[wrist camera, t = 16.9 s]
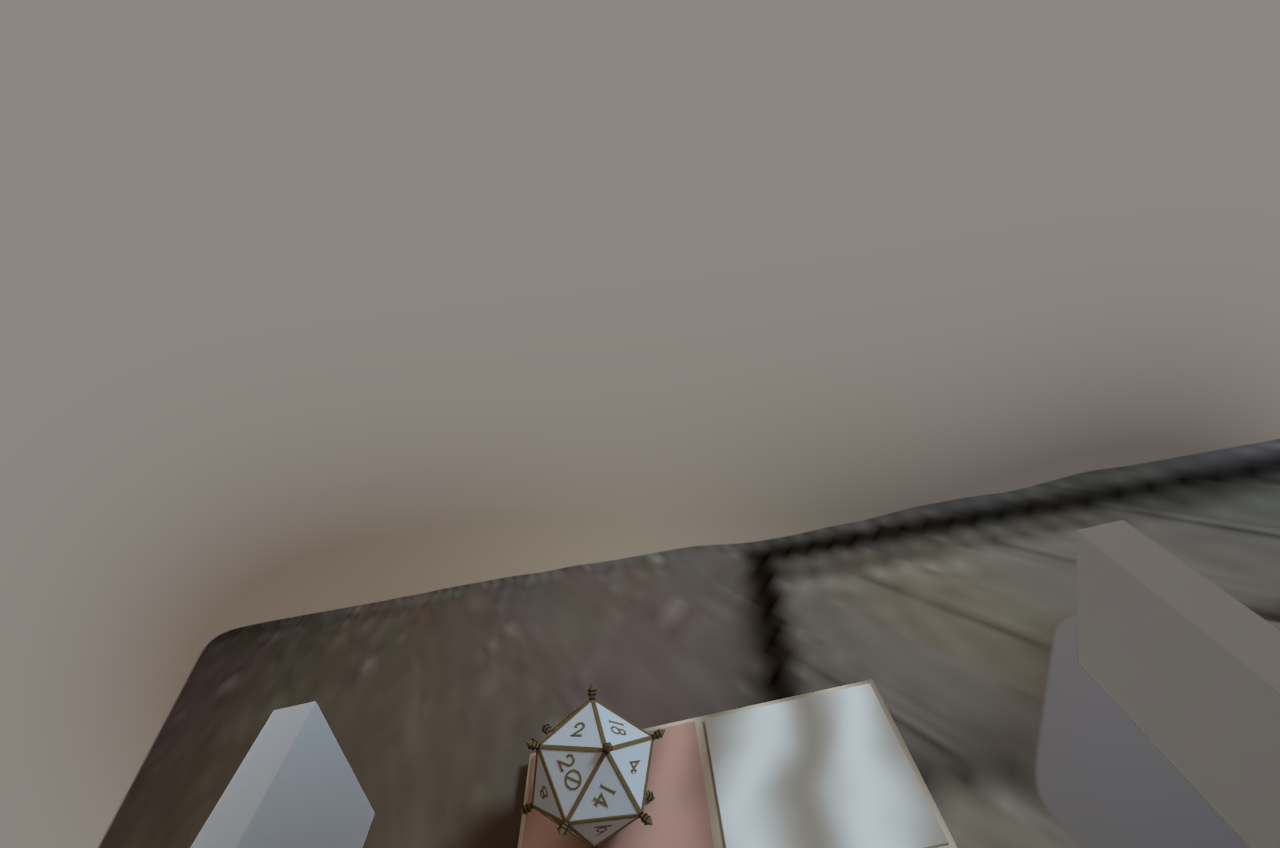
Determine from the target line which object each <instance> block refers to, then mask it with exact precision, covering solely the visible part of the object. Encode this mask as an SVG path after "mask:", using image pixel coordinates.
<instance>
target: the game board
mask: <svg viewBox="0 0 1280 848" xmlns="http://www.w3.org/2000/svg"><path fill="white" fill-rule="evenodd" d="M658 729H662V730H665V732H664V734H663V736H662V737H663V738H662V737H661V738H659V740H658V739H655V740H654V742H653V749H652V756H651V763H650V770H649V777H648V784H647V791H648V790H649V791H650V792H651V791H652V792H653V796H654V797H655V799H653V800H651V801H649V800H647V799H645V805H644V813H647V814H648V815H649V816H650V817H651V820H652V823H653V825H644V823H643V822H641V819H640V818H638V819H637V820H635V821H634V822H632V823H631V824H629V825H628V826H626V827H625V828H623V829H622V830H621V831H619V832H618V833H616V834H615V835H613V836H612V837H610V838H609V839H607V840H606V841H604V842H603V843H601V844H600V845H598V846H597V848H957V846H956V844H955V842H954V840H953V838H952V836H951V834H950V832H949V830H948V828H947V826H946V824H945V822H944V820H943V818H942V816H941V814H940V812H939V810H938V808H937V806H936V804H935V802H934V800H933V798H932V796H931V794H930V792H929V790H928V788H927V786H926V784H925V782H924V780H923V778H922V776H921V774H920V772H919V771H918V769H917V767H916V765H915V763H914V761H913V759H912V757H911V755H910V753H909V751H908V749H907V747H906V745H905V743H904V741H903V739H902V737H901V735H900V733H899V731H898V729H897V727H896V725H895V723H894V721H893V719H892V717H891V715H890V713H889V711H888V709H887V707H886V705H885V703H884V701H883V699H882V697H881V695H880V693H879V691H878V689H877V687H876V685H875V683H874V681H873V679H871V680H867V681H862V682H858V683H853V684H848V685H844V686H839V687H835V688H830V689H825V690H821V691H816V692H812V693H807V694H802V695H798V696H793V697H789V698H784V699H779V700H775V701H770V702H766V703H761V704H756V705H752V706H747V707H743V708H738V709H733V710H729V711H724V712H720V713H715V714H710V715H706V716H701V717H697V718H692V719H687V720H683V721H678V722H674V723H669V724H664V725H660V726H655V727H651V728H646V729H643V730H645V731H646V732H648V733H649V734H653V733H654V731H657V730H658ZM535 760H536V753H531V754H530V758H529V766H528V773H527V781H526V788H525V796H524V803H523V805H526V803H527V804H530V803H531V802H532V793H533V782H534V771H535ZM558 827H559V825H557V824H556V823H554V822H553V821H551V820H550V819H549V818H547V817H546V816H544V815H543V814H541V813H540V812H538V811H537V810H535V809H532V810H531V812H530V813H529V812H528V813H527V815H526V814H522V818H521V826H520V833H519V841H518V848H591V847H590V846H588V845H587V844H586V843H584V842H583V841H581V840H580V839H578V838H577V837H575V836H574V835H572V834H571V833H569V832H568V831H567V832H566V835H562V836H559V832H558V830H557V828H558Z"/></svg>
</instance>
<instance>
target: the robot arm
mask: <svg viewBox="0 0 1280 848" xmlns="http://www.w3.org/2000/svg"><path fill="white" fill-rule="evenodd" d="M1076 554H1077V662H1078V663H1079V664H1080V665H1081V666H1082V667H1083V668H1084V669H1085V670H1086V672H1087V673H1088V674H1089V675H1090V676H1091V677H1092V678H1093V679H1094V680H1095V681H1096V682H1097V683H1098V685H1100V687H1101V688H1102V689H1103V690H1104V691H1105V692H1106V693H1107V694H1108V695H1109V696H1110V698H1111V699H1112V700H1113V701H1114V702H1115V703H1116V704H1117V705H1118V706H1119V707H1120V708H1121V709H1122V710H1123V712H1124V713H1125V714H1126V715H1127V716H1128V717H1129V718H1130V719H1131V720H1132V721H1133V722H1134V723H1135V724H1136V725H1137V727H1138V728H1139V729H1140V730H1141V731H1142V732H1143V733H1144V734H1145V735H1146V736H1147V737H1148V738H1149V740H1150V741H1151V742H1152V743H1153V744H1154V745H1155V746H1156V747H1157V748H1158V749H1159V750H1160V751H1161V752H1162V754H1163V755H1164V756H1165V757H1166V758H1167V759H1168V760H1169V761H1170V762H1171V763H1172V764H1173V765H1174V766H1175V767H1176V769H1177V770H1178V771H1179V772H1180V773H1181V774H1182V775H1183V776H1184V777H1185V778H1186V779H1187V780H1188V782H1190V784H1191V785H1192V786H1193V787H1194V788H1195V789H1196V790H1197V791H1198V792H1199V793H1200V794H1201V796H1202V797H1203V798H1204V799H1205V800H1206V801H1207V802H1208V803H1209V804H1210V805H1211V806H1212V807H1213V809H1214V810H1215V811H1216V812H1217V813H1218V814H1219V815H1220V816H1221V817H1222V818H1223V819H1224V820H1225V821H1226V823H1227V824H1228V825H1229V826H1230V827H1231V828H1232V829H1233V830H1234V831H1235V832H1236V833H1237V834H1238V835H1239V836H1240V838H1242V840H1243V841H1244V842H1245V843H1246V844H1247V845H1248V846H1249V847H1250V848H1280V630H1279V629H1277V628H1276V627H1274V626H1273V625H1272V624H1270V623H1269V622H1267V621H1266V620H1265V619H1263V618H1262V617H1260V616H1259V615H1257V614H1256V613H1255V612H1253V611H1252V610H1250V609H1249V608H1248V607H1246V606H1245V605H1243V604H1242V603H1240V602H1239V601H1238V600H1236V599H1235V598H1233V597H1232V596H1231V595H1229V594H1228V593H1226V592H1225V591H1223V590H1222V589H1221V588H1219V587H1218V586H1216V585H1215V584H1213V583H1212V582H1211V581H1209V580H1208V579H1206V578H1205V577H1204V576H1202V575H1201V574H1199V573H1198V572H1196V571H1195V570H1194V569H1192V568H1191V567H1189V566H1188V565H1187V564H1185V563H1184V562H1182V561H1181V560H1179V559H1178V558H1177V557H1175V556H1174V555H1172V554H1171V553H1170V552H1168V551H1167V550H1165V549H1164V548H1162V547H1161V546H1160V545H1158V544H1157V543H1155V542H1154V541H1153V540H1151V539H1150V538H1148V537H1147V536H1145V535H1144V534H1143V533H1141V532H1140V531H1138V530H1137V529H1136V528H1134V527H1133V526H1131V525H1130V524H1128V523H1127V522H1126V521H1124V520H1120V521H1116V522H1112V523H1107V524H1103V525H1098V526H1094V527H1089V528H1085V529H1080V530H1076ZM374 814H375V813H374V811H373V809H372V807H371V805H370V803H369V801H368V799H367V797H366V796H365V794H364V792H363V790H362V788H361V786H360V784H359V782H358V780H357V778H356V777H355V775H354V773H353V771H352V769H351V767H350V765H349V763H348V761H347V760H346V758H345V756H344V754H343V752H342V750H341V748H340V746H339V744H338V743H337V741H336V739H335V737H334V735H333V733H332V731H331V729H330V727H329V726H328V724H327V722H326V720H325V718H324V716H323V714H322V712H321V710H320V709H319V707H318V705H317V703H316V701H314V702H310V703H305V704H301V705H296V706H292V707H287V708H283V709H278V710H274V711H273V712H272V714H271V716H270V717H269V719H268V721H267V722H266V724H265V726H264V727H263V729H262V731H261V732H260V734H259V735H258V737H257V739H256V740H255V742H254V744H253V745H252V747H251V749H250V750H249V752H248V754H247V755H246V757H245V758H244V760H243V762H242V763H241V765H240V767H239V768H238V770H237V772H236V773H235V775H234V777H233V778H232V780H231V782H230V783H229V785H228V786H227V788H226V790H225V791H224V793H223V795H222V796H221V798H220V800H219V801H218V803H217V805H216V806H215V808H214V809H213V811H212V813H211V814H210V816H209V818H208V819H207V821H206V823H205V824H204V826H203V828H202V829H201V831H200V833H199V834H198V836H197V837H196V839H195V841H194V842H193V844H192V846H191V847H190V848H362V847H363V845H364V842H365V839H366V836H367V834H368V831H369V828H370V825H371V822H372V820H373V817H374Z"/></svg>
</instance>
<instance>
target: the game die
mask: <svg viewBox="0 0 1280 848" xmlns="http://www.w3.org/2000/svg"><path fill="white" fill-rule="evenodd" d="M596 690H597V689H595V687H594V686H593V684H592V685H591V686H590V688H589V690H588V693H589V694H588V695H589V700H588V701H587V702H586V703H584V704H583V705H582V706H581V707H579V708H578V709H577V710H576V711H574V712H573V713H572V714H571V715H570V716H568V717H567V718H566V719H565V720H563V721H562V722H561V723H560V724H558V725H557V726H556V727H555V728H553V729H551V727H550V726H549V724H547V725H542V731H543V732H544V733H545V734H547V735H546V736H545V737H544V739H543V740H542V741H541V742H540V743H539V744H538V743H537V741H535V740H533V739H531V740H528V741H525V742H526V743H527V745H528V749H532V750H534V749H536V760H535V771H534V782H533V793H532V802H531V803H530V804H527V803H526V805H523V807H522V809H521V811H520V814H526V815H527V813H528V812H529V813H530V812H531V810H532V809H535V810H537V811H538V812H540V813H541V814H543V815H544V816H546V817H547V818H549V819H550V820H551V821H553V822H554V823H556V824H557V825H559V827H558V828H557V830H558V832H559V836H562V835H566V832H567V831H568V832H569V833H571V834H572V835H574V836H575V837H577V838H578V839H580V840H581V841H583V842H584V843H586V844H587V845H588V846H590V847H591V848H597V846H598V845H600V844H601V843H603V842H604V841H606V840H607V839H609V838H610V837H612V836H613V835H615V834H616V833H618V832H619V831H621V830H622V829H623V828H625V827H626V826H628V825H629V824H631V823H632V822H634V821H635V820H637V819H638V818H640V819H641V822H643V823H644V825H653V823H652V820H651V817H650V816H649V815H648V814H647V813H644V805H645V799H647V800H649V801H651V800H653V799H655V797H654V796H653V792H652V791H651V792H650V791H649V790H648V791H647V784H648V777H649V770H650V763H651V756H652V749H653V742H654V740H655V739H658V740H659V738H661V737H662V736H663V734H664V732H665V730H662V729H658V730H657V731H654V733H653V734H649V733H648V732H646V731H645V730H643V729H642V728H640V727H638V726H637V725H635V724H634V723H632V722H630V721H629V720H627V719H626V718H624V717H623V716H621V715H619V714H618V713H616V712H615V711H613V710H611V709H610V708H608V707H607V706H605V705H604V704H602V703H600V702H599V701H597V700H596V699H595V695H596ZM662 738H663V737H662Z"/></svg>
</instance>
